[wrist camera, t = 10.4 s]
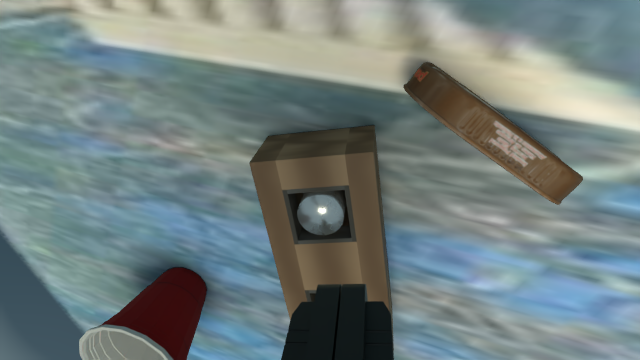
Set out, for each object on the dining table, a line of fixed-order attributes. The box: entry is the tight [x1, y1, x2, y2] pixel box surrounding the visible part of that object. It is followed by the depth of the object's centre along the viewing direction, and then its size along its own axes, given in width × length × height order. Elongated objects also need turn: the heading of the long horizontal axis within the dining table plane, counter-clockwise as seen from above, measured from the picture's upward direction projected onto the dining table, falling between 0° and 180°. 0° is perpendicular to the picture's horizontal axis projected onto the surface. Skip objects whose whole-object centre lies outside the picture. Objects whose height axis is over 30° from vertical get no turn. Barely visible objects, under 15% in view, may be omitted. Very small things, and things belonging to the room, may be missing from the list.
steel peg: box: [297, 190, 346, 235], centre depth 35 cm, size 4×4×6 cm
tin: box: [403, 62, 583, 205], centre depth 30 cm, size 15×3×8 cm, turn 57°
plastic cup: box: [79, 268, 207, 360], centre depth 42 cm, size 11×11×12 cm
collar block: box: [250, 125, 394, 351], centre depth 38 cm, size 10×22×6 cm, turn 9°
